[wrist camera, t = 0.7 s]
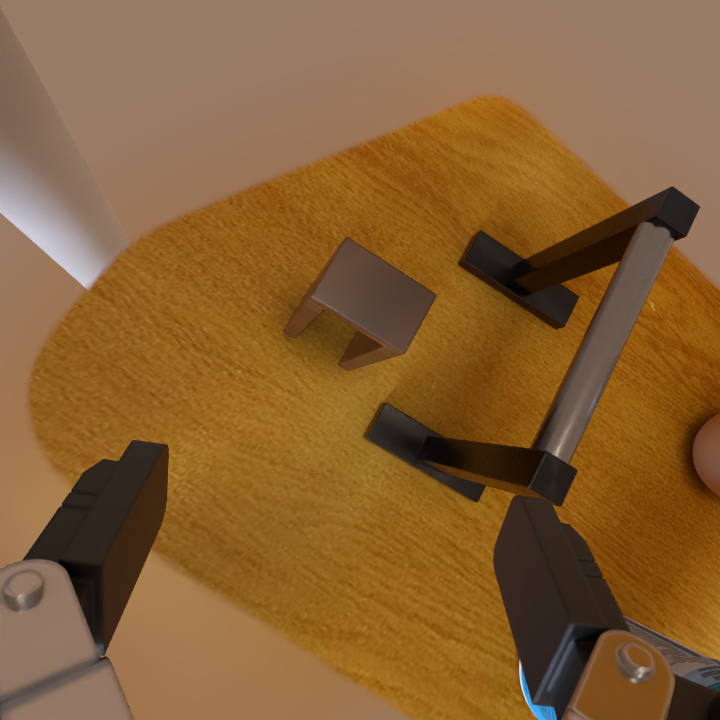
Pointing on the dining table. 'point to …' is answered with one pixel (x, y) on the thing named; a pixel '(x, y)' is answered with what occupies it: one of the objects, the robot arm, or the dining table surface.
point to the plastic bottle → (708, 454)
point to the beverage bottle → (676, 654)
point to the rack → (554, 306)
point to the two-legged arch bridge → (365, 304)
